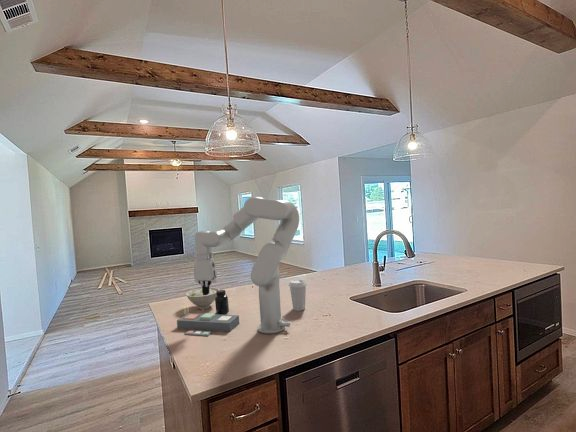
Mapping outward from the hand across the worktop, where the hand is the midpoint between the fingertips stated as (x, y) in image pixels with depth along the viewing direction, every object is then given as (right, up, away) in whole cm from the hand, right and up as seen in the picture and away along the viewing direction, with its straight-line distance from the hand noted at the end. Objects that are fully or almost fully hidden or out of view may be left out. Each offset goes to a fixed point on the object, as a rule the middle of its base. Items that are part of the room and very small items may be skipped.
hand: (206, 294), depth 154 cm
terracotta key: (-8, -15, +3) cm, 17 cm away
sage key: (+1, -13, +1) cm, 13 cm away
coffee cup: (+46, -12, +18) cm, 50 cm away
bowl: (-9, -15, +31) cm, 35 cm away
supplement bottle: (+4, -15, +18) cm, 24 cm away
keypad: (+1, -16, +1) cm, 16 cm away
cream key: (+10, -14, -2) cm, 17 cm away
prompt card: (-2, -16, -8) cm, 18 cm away
